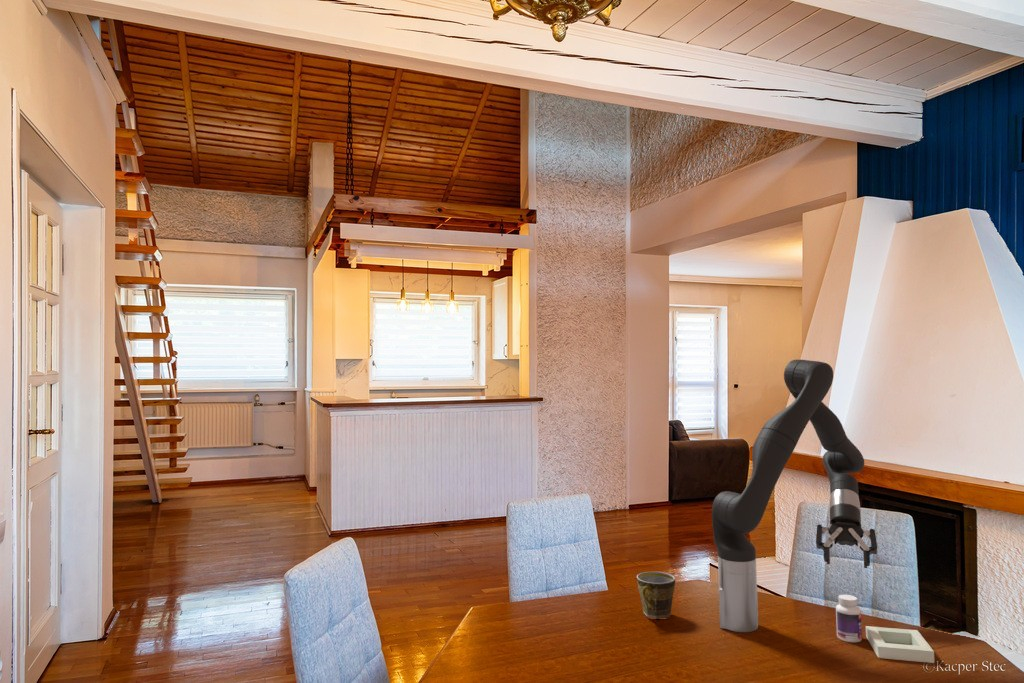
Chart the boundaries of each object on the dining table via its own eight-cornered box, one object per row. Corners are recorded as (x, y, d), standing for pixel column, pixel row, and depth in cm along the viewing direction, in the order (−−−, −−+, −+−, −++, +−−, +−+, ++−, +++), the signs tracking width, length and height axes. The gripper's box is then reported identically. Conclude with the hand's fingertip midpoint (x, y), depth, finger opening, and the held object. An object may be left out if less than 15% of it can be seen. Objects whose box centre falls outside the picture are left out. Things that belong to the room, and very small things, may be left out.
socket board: (878, 657, 148) (877, 646, 149) (866, 636, 160) (865, 626, 160) (934, 663, 145) (933, 651, 145) (917, 640, 157) (917, 630, 157)
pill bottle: (865, 643, 156) (863, 601, 156) (840, 642, 157) (838, 600, 157) (858, 634, 161) (856, 594, 162) (834, 633, 162) (832, 592, 163)
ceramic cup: (647, 606, 183) (646, 569, 183) (682, 613, 177) (681, 575, 178) (626, 621, 173) (625, 582, 173) (662, 629, 167) (661, 589, 167)
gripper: (815, 500, 181) (815, 553, 171) (874, 504, 175) (878, 560, 164) (816, 515, 186) (816, 569, 175) (874, 520, 180) (878, 575, 169)
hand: (846, 564), depth 170 cm, fingers open, 8 cm apart
